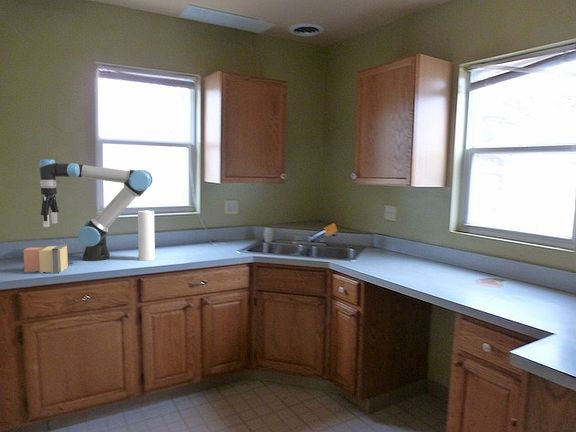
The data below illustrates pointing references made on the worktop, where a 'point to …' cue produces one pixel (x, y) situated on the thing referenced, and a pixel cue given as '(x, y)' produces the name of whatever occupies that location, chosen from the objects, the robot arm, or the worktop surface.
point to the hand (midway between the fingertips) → (50, 225)
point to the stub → (32, 259)
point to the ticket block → (53, 258)
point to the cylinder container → (146, 235)
